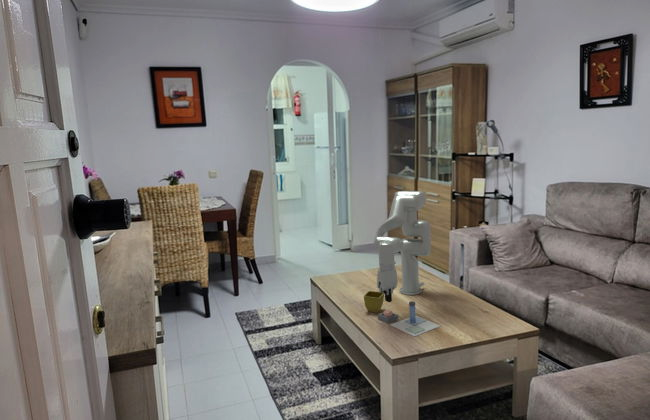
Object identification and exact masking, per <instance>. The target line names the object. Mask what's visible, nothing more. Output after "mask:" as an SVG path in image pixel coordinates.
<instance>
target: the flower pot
mask: <svg viewBox="0 0 650 420" xmlns="http://www.w3.org/2000/svg"><path fill="white" fill-rule="evenodd" d="M384 300H385V294H384V293H380V292H379V291H374V290H368V291H367V292H366V293H365V294H363V301H364V306H365V308H366V310H367V311H368V312H372V313H379V311H380V310H381V308H382V306H383V305H384V304H383V303H384Z"/></svg>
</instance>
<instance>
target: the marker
mask: <svg viewBox="0 0 650 420" xmlns="http://www.w3.org/2000/svg"><path fill="white" fill-rule="evenodd" d="M408 307H409V309H408V310H409V318H410V323H416V316H417V315H416V301H413V300H411V301H409V302H408Z"/></svg>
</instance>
